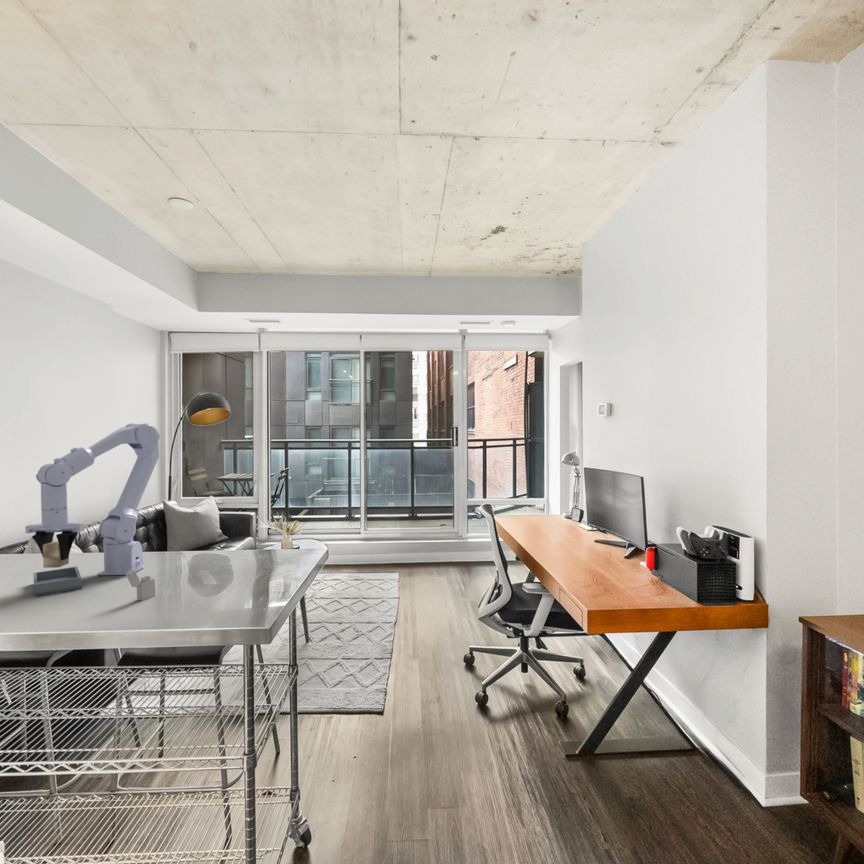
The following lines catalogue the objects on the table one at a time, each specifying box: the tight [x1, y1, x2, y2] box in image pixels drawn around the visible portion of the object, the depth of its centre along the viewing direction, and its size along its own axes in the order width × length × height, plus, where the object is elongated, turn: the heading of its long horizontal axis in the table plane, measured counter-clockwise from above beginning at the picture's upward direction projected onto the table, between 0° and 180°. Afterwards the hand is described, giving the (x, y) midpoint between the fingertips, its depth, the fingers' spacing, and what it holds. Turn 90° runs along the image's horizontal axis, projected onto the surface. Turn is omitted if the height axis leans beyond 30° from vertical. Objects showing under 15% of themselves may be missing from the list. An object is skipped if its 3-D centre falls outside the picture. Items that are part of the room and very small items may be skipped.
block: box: [42, 541, 70, 569], centre depth 145 cm, size 4×4×6 cm
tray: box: [33, 566, 83, 598], centre depth 145 cm, size 10×14×3 cm
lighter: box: [124, 570, 156, 601], centre depth 133 cm, size 7×2×8 cm, turn 160°
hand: (56, 559), depth 145 cm, fingers closed on block, 4 cm apart
